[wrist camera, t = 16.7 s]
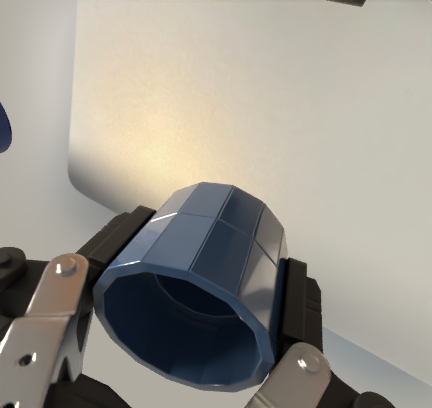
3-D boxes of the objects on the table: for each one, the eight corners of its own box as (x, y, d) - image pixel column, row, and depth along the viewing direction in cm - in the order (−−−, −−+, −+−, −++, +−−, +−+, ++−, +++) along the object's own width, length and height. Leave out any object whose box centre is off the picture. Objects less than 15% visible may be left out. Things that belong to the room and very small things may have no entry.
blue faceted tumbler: (161, 257, 15) (97, 349, 11) (171, 157, 12) (85, 232, 7) (265, 295, 14) (243, 413, 10) (309, 201, 11) (305, 314, 6)
